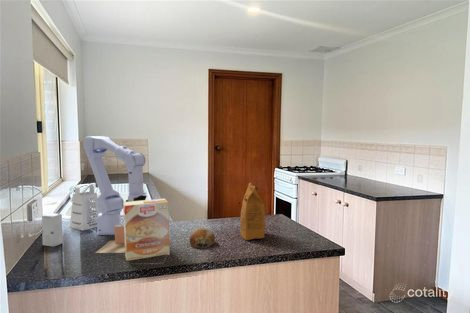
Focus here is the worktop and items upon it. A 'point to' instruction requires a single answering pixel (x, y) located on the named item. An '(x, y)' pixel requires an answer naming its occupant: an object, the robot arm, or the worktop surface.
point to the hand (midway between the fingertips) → (137, 214)
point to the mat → (112, 248)
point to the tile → (119, 234)
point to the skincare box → (52, 229)
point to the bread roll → (202, 238)
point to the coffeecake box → (146, 228)
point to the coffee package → (252, 215)
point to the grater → (84, 209)
